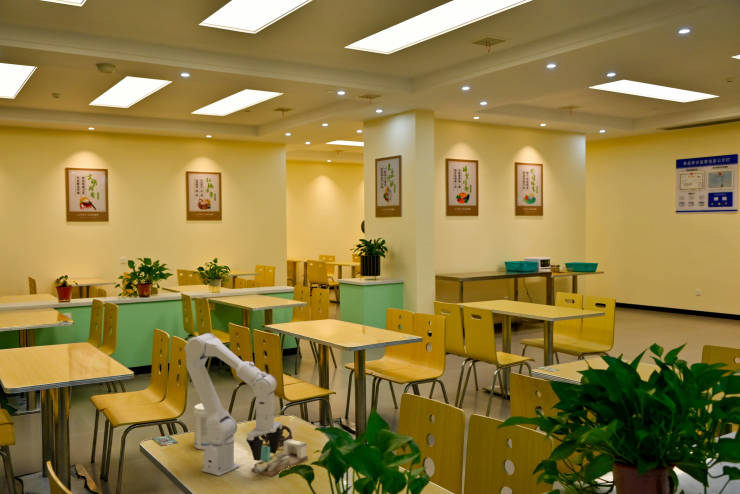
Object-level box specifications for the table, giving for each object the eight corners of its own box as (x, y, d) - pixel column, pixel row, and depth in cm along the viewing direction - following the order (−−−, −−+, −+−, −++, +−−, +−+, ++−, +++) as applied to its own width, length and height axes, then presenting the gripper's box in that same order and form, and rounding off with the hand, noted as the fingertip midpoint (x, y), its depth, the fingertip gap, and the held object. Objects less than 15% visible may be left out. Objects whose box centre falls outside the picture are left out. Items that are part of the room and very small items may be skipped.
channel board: (271, 477, 200) (271, 467, 200) (251, 471, 204) (251, 462, 204) (307, 459, 216) (307, 450, 216) (288, 454, 220) (288, 446, 220)
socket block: (300, 458, 213) (300, 445, 213) (283, 454, 217) (283, 441, 217) (306, 456, 216) (306, 442, 216) (289, 452, 220) (289, 439, 220)
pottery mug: (291, 441, 236) (295, 425, 232) (286, 460, 228) (291, 444, 224) (259, 433, 235) (263, 417, 231) (253, 452, 227) (257, 436, 223)
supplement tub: (227, 444, 231) (227, 403, 231) (210, 452, 222) (210, 410, 222) (205, 440, 235) (205, 400, 235) (188, 448, 226) (188, 407, 226)
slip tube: (261, 473, 200) (261, 450, 200) (254, 471, 201) (254, 448, 201) (285, 462, 210) (285, 439, 210) (278, 460, 212) (278, 438, 212)
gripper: (259, 421, 195) (259, 465, 195) (289, 410, 207) (289, 452, 208) (242, 418, 199) (242, 461, 199) (272, 407, 211) (272, 448, 211)
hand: (265, 456), depth 204 cm, fingers open, 7 cm apart
